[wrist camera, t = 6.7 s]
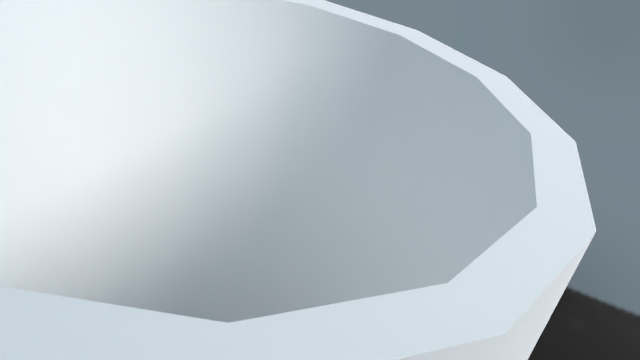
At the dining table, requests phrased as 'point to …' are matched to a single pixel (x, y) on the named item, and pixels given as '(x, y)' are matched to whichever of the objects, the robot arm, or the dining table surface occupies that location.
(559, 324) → the dining table surface
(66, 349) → the foam cup
